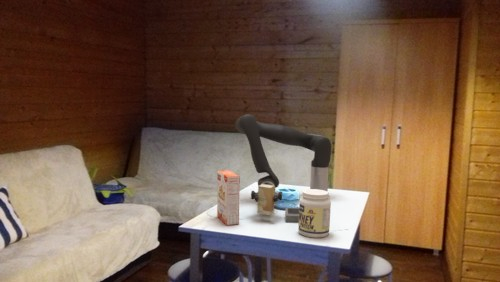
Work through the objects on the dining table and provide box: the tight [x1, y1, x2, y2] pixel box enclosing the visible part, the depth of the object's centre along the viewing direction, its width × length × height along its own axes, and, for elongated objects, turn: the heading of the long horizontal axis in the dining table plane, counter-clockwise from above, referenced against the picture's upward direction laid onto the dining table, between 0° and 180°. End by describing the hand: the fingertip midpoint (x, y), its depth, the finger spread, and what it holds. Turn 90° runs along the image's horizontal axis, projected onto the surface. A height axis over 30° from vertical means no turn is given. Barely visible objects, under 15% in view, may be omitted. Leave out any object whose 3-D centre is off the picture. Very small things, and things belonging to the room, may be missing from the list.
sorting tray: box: [284, 207, 299, 224], centre depth 191 cm, size 13×13×3 cm
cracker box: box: [216, 169, 241, 226], centre depth 184 cm, size 14×6×21 cm, turn 21°
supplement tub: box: [298, 188, 332, 239], centre depth 170 cm, size 12×12×17 cm
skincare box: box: [256, 184, 276, 216], centre depth 185 cm, size 6×4×12 cm
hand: (266, 199), depth 183 cm, fingers closed on skincare box, 7 cm apart
